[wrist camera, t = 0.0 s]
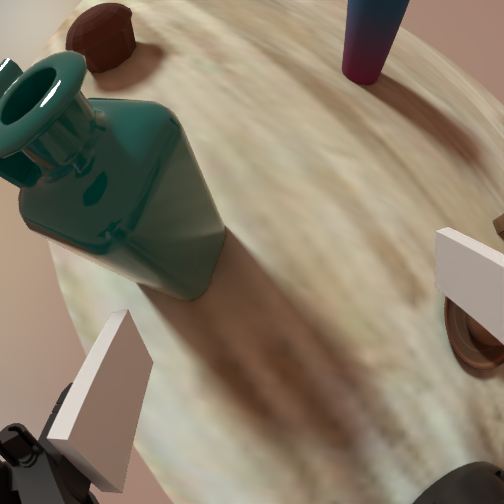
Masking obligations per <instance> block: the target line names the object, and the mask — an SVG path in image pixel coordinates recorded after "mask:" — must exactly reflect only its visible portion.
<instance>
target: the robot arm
mask: <svg viewBox="0 0 504 504" xmlns="http://www.w3.org/2000/svg"><path fill="white" fill-rule="evenodd" d="M435 233H436V271H435V287H436V288H437V289H438V290H439V291H441V292H442V293H443V294H444V295H446V296H447V297H448V298H449V299H451V300H452V301H453V302H454V303H456V304H457V305H458V306H459V307H460V308H462V309H463V310H464V311H465V312H466V313H468V314H469V315H470V316H471V317H472V318H474V319H475V320H476V321H477V322H478V323H480V324H481V325H482V326H483V327H484V328H485V329H486V330H488V331H489V332H490V333H491V334H492V335H493V336H494V337H496V338H497V339H498V340H499V341H500V342H501V343H502V344H503V345H504V254H502V253H500V252H498V251H496V250H494V249H492V248H490V247H488V246H486V245H484V244H482V243H480V242H478V241H476V240H474V239H472V238H470V237H468V236H466V235H464V234H462V233H460V232H458V231H455V230H453V229H451V228H449V227H447V228H443V229H440V230H437V231H435ZM152 366H153V360H152V358H151V357H150V355H149V353H148V351H147V349H146V346H145V344H144V342H143V340H142V338H141V336H140V334H139V332H138V330H137V328H136V326H135V323H134V321H133V319H132V317H131V315H130V312H129V310H123V311H118V312H114V313H112V314H111V316H110V317H109V319H108V321H107V323H106V324H105V326H104V328H103V329H102V331H101V333H100V335H99V336H98V338H97V340H96V342H95V344H94V345H93V347H92V349H91V351H90V352H89V354H88V356H87V358H86V360H85V362H84V364H83V365H82V367H81V369H80V371H79V373H78V375H77V377H76V379H75V381H74V382H73V383H70V384H69V385H68V386H67V387H66V389H64V391H63V392H62V393H61V395H60V397H59V399H58V401H57V403H56V404H57V405H55V407H54V408H53V411H52V414H51V415H50V416H49V419H48V421H47V423H46V425H45V427H44V429H43V431H42V433H41V435H40V438H39V440H38V441H37V440H36V439H35V438H34V437H33V436H32V434H31V433H30V432H29V431H28V430H27V429H26V428H25V426H24V425H22V424H20V423H14V424H11V425H8V426H7V427H5V428H4V429H3V430H2V431H1V432H0V455H1V456H2V457H3V458H4V459H5V460H6V461H5V462H2V461H1V460H0V504H99V503H98V501H97V499H96V497H95V496H94V495H93V494H92V493H91V492H90V491H89V488H90V484H91V483H93V484H94V485H95V486H96V487H97V488H98V489H100V490H101V491H103V492H115V493H123V488H124V483H125V478H126V472H127V468H128V463H129V458H130V453H131V449H132V445H133V441H134V436H135V432H136V428H137V424H138V419H139V415H140V411H141V407H142V403H143V399H144V395H145V392H146V388H147V384H148V380H149V377H150V373H151V369H152ZM413 504H504V470H503V469H501V468H499V467H497V466H495V465H493V464H491V463H488V462H474V463H470V464H467V465H464V466H462V467H459V468H457V469H455V470H453V471H452V472H450V473H448V474H447V475H445V476H443V477H442V478H441V479H439V480H438V481H436V482H435V483H434V484H433V485H431V486H430V487H429V488H428V489H427V490H426V491H424V492H423V493H422V494H421V495H420V496H419V497H418V498H417V499H416V500H415V501H414V503H413Z"/></svg>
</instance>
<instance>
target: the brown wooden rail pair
mask: <svg viewBox="0 0 504 504" xmlns="http://www.w3.org/2000/svg"><path fill="white" fill-rule="evenodd" d="M493 223H494V226H495V228H496V231H497V234H499V233H501V232H504V214H503V215H501V216H500V217H498V218H497V219H495V220H494V221H493Z"/></svg>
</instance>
